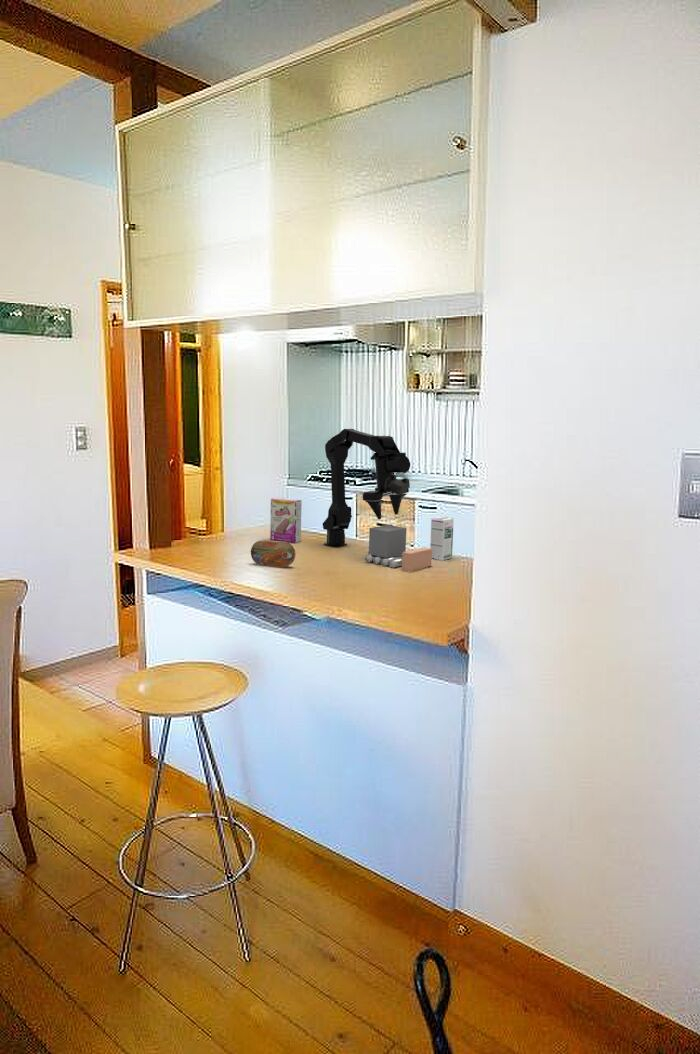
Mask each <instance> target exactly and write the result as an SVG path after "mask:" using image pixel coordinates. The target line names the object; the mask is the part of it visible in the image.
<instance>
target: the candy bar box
mask: <svg viewBox="0 0 700 1054" xmlns="http://www.w3.org/2000/svg"><path fill="white" fill-rule="evenodd" d="M269 534H270V535H269V536H270V537H269V538H270V539H269V541H282V542H288V543H289V542H291V543H290V544H297V543H299V541H300V542H301V541H302V499H295V498H288V497H287V498H284V497H274V498H273V497H272V498H271V499H270V533H269ZM296 542H297V543H296Z"/></svg>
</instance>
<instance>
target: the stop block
mask: <svg viewBox="0 0 700 1054" xmlns="http://www.w3.org/2000/svg"><path fill="white" fill-rule="evenodd" d="M432 560H433V558H432V549H431V548H430V547H420V548H416V549H412V550H406V552H403V557H402V566H401V570H402V571H405V572H408V573H411V572H414V570H415V571H417V570H418V569H419V570H422V569H426V568H429V567H428V566H430V567H432ZM425 567H426V568H425ZM421 568H422V569H421Z"/></svg>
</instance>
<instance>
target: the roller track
mask: <svg viewBox="0 0 700 1054" xmlns="http://www.w3.org/2000/svg"><path fill="white" fill-rule="evenodd" d="M402 557H403V555H398V556H394V557H389V558H385V557H380V556H375V555H371V554H368V555H365V558H364V559H365V560H364V561H365V562H366V563H368V562H369V563H372V561H373V564H374V565H379V563H380V564H381V566H382V565H383V567H386V566H389V567H390V568H391V567H392V568H391V569H394V568H397V567H402Z"/></svg>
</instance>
